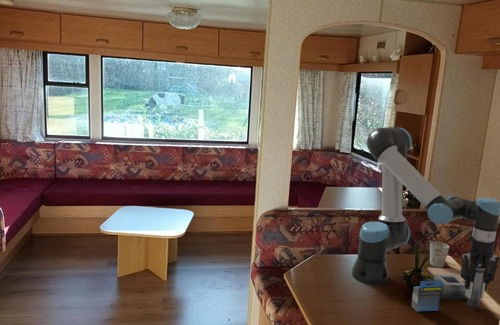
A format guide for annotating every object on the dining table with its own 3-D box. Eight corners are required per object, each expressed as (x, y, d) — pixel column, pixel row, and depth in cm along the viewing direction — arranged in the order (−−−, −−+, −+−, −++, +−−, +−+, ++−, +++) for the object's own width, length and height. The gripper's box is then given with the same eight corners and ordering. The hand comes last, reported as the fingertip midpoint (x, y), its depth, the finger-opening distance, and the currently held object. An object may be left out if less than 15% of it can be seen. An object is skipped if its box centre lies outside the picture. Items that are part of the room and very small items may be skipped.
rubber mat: (438, 280, 178) (439, 279, 178) (427, 268, 190) (427, 267, 190) (466, 282, 178) (466, 280, 178) (453, 270, 190) (453, 268, 190)
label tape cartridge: (432, 305, 157) (436, 275, 154) (438, 311, 153) (442, 280, 151) (410, 306, 155) (414, 276, 153) (416, 312, 151) (420, 281, 149)
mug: (425, 265, 194) (428, 245, 192) (431, 256, 204) (433, 237, 202) (444, 270, 189) (447, 249, 187) (449, 261, 199) (452, 242, 198)
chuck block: (439, 298, 162) (441, 287, 161) (424, 282, 176) (426, 271, 175) (474, 300, 162) (476, 288, 161) (457, 283, 176) (458, 272, 175)
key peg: (469, 308, 156) (475, 268, 153) (463, 301, 161) (469, 263, 158) (482, 309, 156) (488, 269, 153) (475, 302, 161) (481, 263, 158)
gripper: (465, 241, 150) (456, 300, 154) (512, 244, 150) (501, 303, 154) (455, 234, 157) (447, 291, 161) (499, 236, 157) (490, 293, 161)
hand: (473, 296), depth 158 cm, fingers closed on key peg, 4 cm apart
